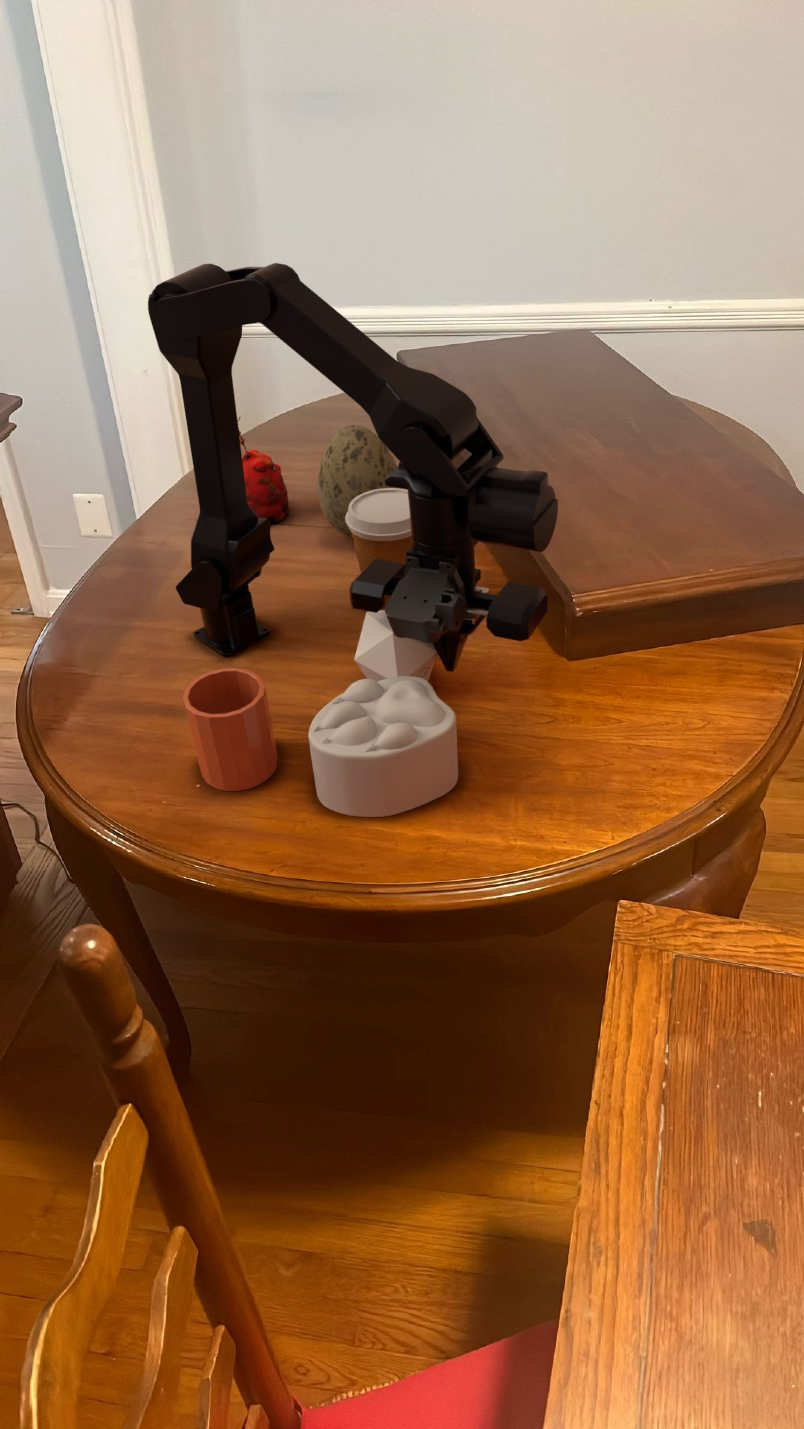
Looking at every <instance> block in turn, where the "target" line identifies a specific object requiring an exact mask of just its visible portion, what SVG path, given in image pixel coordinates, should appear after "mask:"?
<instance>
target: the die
mask: <svg viewBox="0 0 804 1429" xmlns="http://www.w3.org/2000/svg"><path fill="white" fill-rule="evenodd" d="M365 612H366V613H365V616H364V620H363V623H362V627H361V631H360V636H359V639H358V643H357V647H356V650H355V651H356V652H355V655H354V658H353V661H354V662H355V663H356V665H357V667H358V668H359V670H360V671H361V672H362V674H363V675H364V677H365V679H372V680H375V681H380V680H384V679H387V678H391V677H397V676H412V677H419V678H422V679H424V680H426V681H428V682H429V680H430V677H431V674H432V670H433V667H434V665H435V662H436V658H437V655H438V653H437V652H436V650H435V648H434V646H433V644H432V643H423V642H421V641H419V640H414V639H410V638H399V637H396V636H395V635H394V633H393V631H392V628H391V626H390V623H389V621H388V618H387V616H386V613H385V610H382V609H380V610H379V611H378V612H377V613H374V612H369V611H365Z"/></svg>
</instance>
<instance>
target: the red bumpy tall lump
mask: <svg viewBox="0 0 804 1429" xmlns="http://www.w3.org/2000/svg"><path fill="white" fill-rule="evenodd" d="M241 418H242V417H241V416H240V415H239V416H238V418H237V421H238V422H239V421H240V420H241ZM238 429H239V437H240V445H242V447H243V449H244V451H245V453H244V454H243V455H242V462H243V471H244V479H245V487H246V496H247V502H248V505H249V506H250V508H251V509H252V510H253V511H254V512H255V513H256V515H257V516H258V517H259V518H267V519H269V521H270V523H272V521H274V522H278V523H279V522H280V521H283V520H284V519H285V518H286V515H288V513H289V512H290V507H289V496H288V488H287V486H286V483H285V482H284V477H283V475H282V470H281V469H282V468H281V466H280V464H278V463H275V462H273V460H272V457H271V456H270V455H269V454H267V453H265V452H259V450H257V449H250V450H249V451H248V450H247V447H246V444H245V440H246V437H243V436H242V432H241V431H240V428H239V426H238Z"/></svg>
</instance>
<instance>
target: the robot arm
mask: <svg viewBox="0 0 804 1429" xmlns="http://www.w3.org/2000/svg"><path fill="white" fill-rule="evenodd" d="M147 311H148V312H147V313H148V316H149V320H150V323H151V326H152V331H153V333H154V337H155V340H156V343H157V347H158V350H159V352H160V353H161V355H162V356H163V357H164V358H165V360H166V361H167V363H168V364H170V366H171V367H172V369H173V370H174V371H175V372H176V374H177V375H178V378H179V385H180V390H181V395H182V402H183V410H184V415H185V416H184V418H185V422H186V429H187V430H186V431H187V435H188V441H189V448H190V454H191V455H190V456H191V460H192V467H193V474H194V481H195V486H196V493H197V499H198V501H197V502H198V507H199V513H198V515H197V520H196V522H195V526H194V529H193V533H192V535H191V538H190V567H191V570H190V571H189V572H188V573H187V574H186V575H185V576H184V577H183V578H182V579H181V580H180V581H179V582H178V583H177V585H176V586H175V591H176V592H177V594H178V596H179V598H180V599H181V601H182V603H183V604H184V605H187V606H191V607H194V608H199V610H200V614H201V620H202V623H203V626H202V627H201V628H199V629H197V630H195V631H194V632H193V633H192V634H193V638H195V639H196V640H197V641H199V642H201V643H202V644H204V645H205V646H207V647H208V648H210V649H211V650H213V651H214V652H215V653H217V654H219V655H220V656H222V657H229V656H231V655H233V654H236V653H237V652H240V651H241V650H242V649H245V648H247V647H248V646H250V645H252V644H254V643H256V642H258V641H259V640H261V639H263V638H265V637H267V636H268V635H270V633H271V632H270V628H268V627H266V626H265V625H264V624H262V623H260V622H258V621H257V615H256V610H255V607H254V602H253V597H252V592H251V591H250V586H249V584H251V583H252V582H253V581H254V580H255V579H257V578H259V577H260V576H261V575H262V571H263V567H264V566H266V565H267V563H268V562H269V561H270V557H271V553H273V552H274V551H275V546H274V544H273V542H272V538H271V527H272V526H271V525H272V522H270V521H269V519H267V518H259V517H258V516H257V515H256V513H255V512H254V511H253V510H252V509H251V508H250V506H249V505H248V502H247V496H246V487H245V479H244V471H243V462H242V458H243V455H242V454H243V453H242V447H241V443H240V437H239V431H240V428H239V429H238V427H239V421H237V420H238V414H237V413H238V412H237V404H236V397H235V388H234V380H233V365H234V362H235V359H236V356H237V353H238V349H239V347H240V343H241V339H242V336H243V326H247V325H254V324H261V325H262V326H264V327H265V328H266V329H267V330H268V331H270V332H271V333H272V334H273V335H274V336H275V337H277V338H278V339H279V340H280V341H282V342H283V343H284V344H285V345H286V346H288V347H289V348H290V349H291V350H293V351H294V352H295V353H296V354H297V355H298V356H299V357H301V358H302V359H303V360H304V361H305V362H307V363H308V364H309V365H311V366H312V367H313V368H314V369H315V370H317V371H318V372H319V373H320V374H322V376H324V377H325V378H326V379H327V380H329V382H331V383H332V384H333V385H335V386H336V387H337V388H338V389H339V390H341V391H342V392H343V393H344V394H345V395H346V396H348V397H349V398H350V399H352V400H353V401H354V402H355V403H356V404H358V405H359V406H360V407H361V409H363V411H364V412H365V413H366V414H367V415H368V416H369V418H370V421H371V424H372V426H373V428H374V431H375V432H376V433H375V434H376V435H377V436H378V437H379V439H380V440H381V441H382V442H383V443H384V445H385V446H386V447H387V448H388V449H389V451H390V453H391V454H392V455H393V457H395V458H396V459H397V460H398V461H399V462H398V465H397V468H396V469H395V471H394V472H393V473H392V474H390V475H389V476H388V477H387V478H386V479H385V484H386V485H387V486H390V487H396V488H402V489H406V490H408V500H409V511H410V523H411V535H412V546H411V547H410V548H409V549H408V550H407V551H406V555H407V557H406V559H405V560H406V564H402V563H397V562H391V561H385V560H379V559H375V560H374V561H373V562H372V563H371V564H370V565H369V566H368V567H367V568H366V569H365V570H364V571H363V572H362V573H361V572H360V573H359V575H357V577H356V578H355V579H353V581H352V582H351V584H350V588H349V598H350V604H351V607H352V608H353V609H354V610H358V611H359V610H360V611H365V612H374V613H377V612H378V611H381V610H382V609H381V608H383V606H384V605H385V598H384V596H385V595H388V596H391V598H390V600H389V602H388V603H387V605H386V608H385V613H386V616H387V618H388V621H389V623H390V626H391V628H392V631H393V633H394V635H395V636H396V637H399V638H410V639H414V640H419V641H421V642H423V643H432V644H433V646H434V648H435V650H436V652H437V655H438V657H439V659H440V660H441V663H442V665H443V667H444V668H445V670H446V672H450V673H454V671H456V668H457V667H458V664H459V661H460V658H461V656H462V652H463V651H464V648H465V646H466V643H467V640H468V637H469V636H471V635H473V633H474V632H475V631H476V630H477V628H478V627H479V626H480V625H481V623H482V622H483V621H484V619H485V620H486V622H485V623H486V629H487V630H488V631H489V632H490V633H491V634H492V636H494V637H497V638H501V639H507V640H512V641H516V642H524V641H528V640H529V639H530V638H531V637H532V635H533V634H534V633H535V630H536V629H537V628H538V626H539V625H540V623H541V622H542V621H543V619H544V617H545V616H546V615H547V613H549V612H548V610H549V609H548V608H549V607H548V606H549V605H548V603H549V602H548V601H549V598H548V597H549V596H548V595H547V593H546V592H545V590H544V589H543V588H542V587H540V586H536V585H535V586H534V585H530V584H529V585H528V584H524V583H518V582H513V581H512V582H511V581H507V582H505V584H504V585H503V587H502V588H501V590H500V591H499V592H498V593H497V594H494V593H490V589H489V588H488V587H483V586H478V585H477V584H478V583H479V581H481V579H482V571H481V569H480V568H476V560H475V559H476V557H475V546H477V544H478V543H479V542H480V543H483V544H490V545H495V546H502V547H507V548H513V549H518V550H525V551H530V552H536V553H543V552H544V551H546V550H547V548H548V547H549V545H550V543H551V540H552V538H553V536H554V532H555V529H556V526H557V525H556V524H557V520H558V513H559V499H558V498H557V497H556V491H555V489H554V488H553V487H554V486H552V485H550V484H549V473H547V471H541V470H533V469H532V470H518V469H512V468H503V467H498V465H499V464H500V463H501V462H502V461H503V460H504V457H505V456H504V454H503V452H502V450H501V449H500V448H499V447H498V445H497V443H496V441H494V439H493V438H492V436H491V435H490V434H489V432H488V431H487V429H486V428H485V427H484V425H483V423H482V422H481V420H480V419H479V418H478V415H477V414H478V413H477V410H478V409H477V406H476V404H475V402H474V401H473V400H472V399H471V398H470V396H468V394H467V393H465V392H464V391H463V390H462V389H460V388H458V387H456V386H455V385H453V384H451V383H449V382H447V381H446V380H444V379H443V378H441V377H439V376H437V375H436V374H434V373H431V372H428V371H424V370H420V369H417V368H413V367H409V366H407V365H406V364H404V363H402V362H400V361H398V360H397V359H395V358H394V357H393V356H392V355H391V354H389V353H388V352H387V351H386V350H385V349H383V348H382V347H381V346H380V345H379V344H377V343H376V342H375V341H373V339H371V338H370V337H369V336H368V335H367V334H365V333H364V332H363V331H362V330H360V329H359V328H358V327H357V326H356V325H355V324H353V323H352V322H351V321H350V320H348V319H347V318H346V317H345V316H344V315H342V314H341V313H340V312H338V310H336V309H335V308H334V307H333V306H331V305H330V304H329V303H328V302H327V301H326V300H325V299H323V298H322V297H321V296H319V294H317V293H316V292H315V291H313V289H311V288H310V287H309V286H307V285H306V284H305V283H304V282H303V281H302V280H301V279H300V277H299V274H298V272H296V270H294V268H292V267H291V266H290V265H288V264H283V263H278V262H273V263H271V264H268V265H266V266H245V267H240V268H239V267H238V268H234V269H229V270H225V269H223V268H222V267H221V266H219V265H217V264H214V263H203V264H200V265H197V266H196V267H193V268H191V269H188V270H187V271H184V272H182V273H179V274H178V275H175V276H173V277H171V278H169V279H166V280H164V281H162V282H160V283H158V284H157V285H155V287H154V289H153V290H152V291H151V293H149V295H148V299H147ZM464 450H466V451H467V452H468V453H470V454H471V455H469V456H468V458H466V459H465V460H464V461H463V462H462V463H461V464H460V465H459V466H458V467H456V466H455V465H454V463H453V460H455V458H457V457H458V456H459V455H460V454H461V453H462V452H463V451H464Z"/></svg>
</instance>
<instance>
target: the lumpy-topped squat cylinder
mask: <svg viewBox="0 0 804 1429" xmlns="http://www.w3.org/2000/svg"><path fill="white" fill-rule="evenodd" d="M308 744H309V751H310V759H311V764H312V771H313V776H314V777H313V778H314V785H315V791H316V796H317V798H318V801H319V802H320V803H321V804H322V805H323V806H324V807H325V808H327V809H329V810H330V811H333V812H335V813H338V814H341V815H345V816H350V817H360V818H362V817H365V818H383V817H391V816H394V815H398V814H401V813H404V812H406V811H410V810H413V809H416V808H418V807H420V806H423V805H426V804H428V803H430V802H432V801H435V800H436V799H439V798H441V797H443V796H444V795H446V794H447V793H449V792H450V791H451V790H452V789H453V788H454V787H455V786H456V785H457V783H458V780H459V758H458V754H459V753H458V732H457V716H456V713H455V711H454V709H452V708H451V707H450V706H449V705H447V703H446V702H444V701H443V700H442V699H440V697H438V695H437V693H436V691H435V689H434V687H433V686H432V684H431V683H430V682H429V680H428V681H426V680H424V679H422V678H419V677H412V676H397V677H391V678H387V679H384V680H380V681H375V680H372V679H367V678H362V679H358V680H356V681H354V682H352V683H351V684H350V685H349V686H348V687H347V688H346V689H345V691H344V692H342V693H341V694H339V695H337V696H336V697H334V698H332V700H330V701H329V702H328V703H327V704H326V705H324V706H323V707H322V709H320V710H319V711H317V714H316V715H315V716H314V718H313V719H312V722H311V724H310V726H309V730H308Z"/></svg>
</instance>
